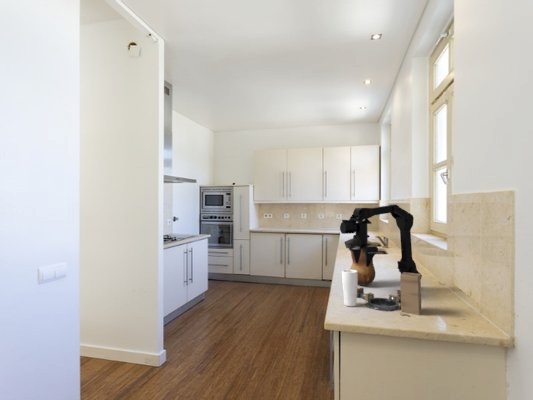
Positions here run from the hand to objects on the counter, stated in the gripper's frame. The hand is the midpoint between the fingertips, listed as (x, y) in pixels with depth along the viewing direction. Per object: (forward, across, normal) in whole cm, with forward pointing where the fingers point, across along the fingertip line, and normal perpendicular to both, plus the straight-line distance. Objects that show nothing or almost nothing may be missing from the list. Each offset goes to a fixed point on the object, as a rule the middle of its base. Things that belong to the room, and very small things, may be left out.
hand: (362, 264), depth 148 cm
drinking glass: (+15, +12, -14) cm, 23 cm away
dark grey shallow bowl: (+15, +17, -1) cm, 22 cm away
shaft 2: (+15, +13, +10) cm, 22 cm away
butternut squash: (+15, -16, +10) cm, 24 cm away
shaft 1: (+15, +6, -3) cm, 16 cm away
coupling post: (+15, +26, +6) cm, 30 cm away
